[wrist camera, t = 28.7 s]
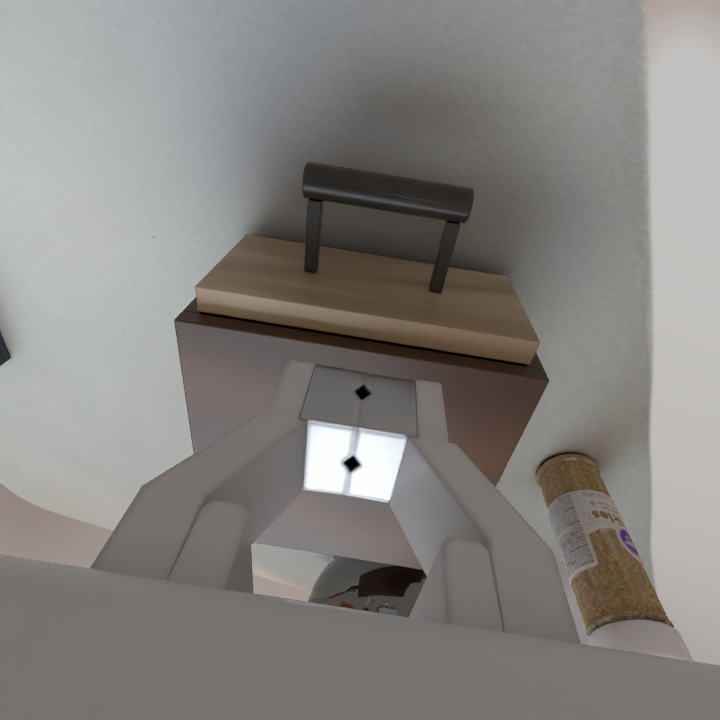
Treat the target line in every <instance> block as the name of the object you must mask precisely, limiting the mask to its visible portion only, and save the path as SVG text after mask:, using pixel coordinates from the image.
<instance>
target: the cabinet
mask: <svg viewBox="0 0 720 720" xmlns="http://www.w3.org/2000/svg"><path fill="white" fill-rule="evenodd" d="M174 322H175V328H176V335H177V342H178V349H179V356H180V363H181V369H182V376H183V383H184V390H185V397H186V403H187V410H188V417H189V424H190V431H191V438H192V444H193V451H194V454H195V453H196V452H198V451H200V450H201V449H203V448H205V447H206V446H208V445H209V444H211V443H213V442H214V441H216V440H218V439H219V438H221V437H222V436H224V435H226V434H227V433H229V432H230V431H232V430H234V429H235V428H237V427H239V426H240V425H242V424H243V423H245V422H247V421H248V420H250V419H251V418H253V417H255V416H256V415H258V414H267V415H268V412H269V410H270V407H271V404H272V402H273V399H274V397H275V394H276V392H277V389H278V387H279V384H280V382H281V379H282V377H283V374H284V372H285V369H286V367H287V364H288V363H289V362H290V361H291V360H296V361H302V362H308V363H314V364H321V365H326V366H332V367H338V368H343V369H349V370H354V371H360V372H365V373H370V374H376V375H383V376H390V377H396V378H403V379H410V380H415V379H416V380H423V381H431V382H439V383H440V384H441V386H442V393H443V401H444V409H445V417H446V425H447V433H448V442H449V443H454V444H457V445H458V446H459V447H460V448H461V450H462V451H463V452H464V453H465V454H466V455H467V456H468V457H469V458H470V460H471V461H472V462H473V463H474V464H475V465H476V466H477V467H478V468H479V470H480V471H481V472H482V473H483V474H484V475H485V476H486V477H487V478H488V480H489V481H490V482H491V483H492V484H493V485H494V486H495V487H496V485H497V483H498V481H499V479H500V477H501V475H502V473H503V471H504V469H505V467H506V465H507V463H508V461H509V459H510V457H511V455H512V453H513V451H514V449H515V447H516V445H517V443H518V441H519V440H520V438H521V436H522V434H523V432H524V430H525V428H526V426H527V424H528V422H529V420H530V418H531V416H532V414H533V412H534V410H535V408H536V406H537V404H538V402H539V400H540V398H541V396H542V394H543V392H544V390H545V388H546V386H547V384H548V382H549V379H548V377H547V375H546V372H545V370H544V368H543V366H542V364H541V362H540V360H539V358H538V356H537V353H536V352H535V355H534V357H533V359H532V361H531V363H530V365H527V364H521V363H515V362H509V361H503V360H497V359H495V362H493V361H487V360H481V359H475V358H469V357H463V356H456V355H450V354H444V353H438V352H432V351H425V350H419V349H413V348H407V347H401V346H395V345H388V344H382V343H376V342H370V341H364V340H357V339H351V338H345V337H339V336H333V335H327V334H320V333H314V332H308V331H302V330H296V329H290V328H283V327H277V326H271V325H265V324H259V323H252V322H246V321H240V320H234V319H232V317H231V316H225V315H219V314H212V313H206V312H200V311H198V309H197V299H196V298H195V299H194V300H193V301H192V302H191V303H190V304H189V305H188V306H187V307H186V308H185V309H184V310H183V312H181V313H180V314H179V315H178V317H177V318H176V319H175V320H174ZM254 543H260V544H266V545H272V546H278V547H284V548H291V549H297V550H303V551H309V552H316V553H322V554H328V555H334V556H340V557H347V558H353V559H359V560H365V561H372V562H378V563H384V564H390V565H396V566H403V567H409V568H415V569H421V570H423V568H422V566H421V564H420V562H419V561H418V559H417V557H416V555H415V553H414V551H413V549H412V547H411V545H410V543H409V541H408V540H407V538H406V536H405V534H404V532H403V530H402V528H401V526H400V524H399V522H398V520H397V518H396V517H395V515H394V513H393V511H392V509H391V507H390V503H386V502H380V501H375V500H369V499H364V498H358V497H353V496H347V495H340V494H332V493H325V492H317V491H309V490H302V493H301V494H300V495H299V496H298V497H297V498H296V499H295V500H294V501H293V502H292V503H291V504H290V505H289V506H288V508H287V509H286V510H285V511H284V512H283V513H282V514H281V515H280V516H279V517H278V518H277V519H276V520H275V521H274V522H273V523H272V524H271V525H270V526H269V527H268V528H267V529H266V530H265V531H264V532H263V533H262V534H261V535H260V536H259V537H258V538H257V539H256V541H255V542H254Z"/></svg>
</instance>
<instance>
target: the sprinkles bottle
mask: <svg viewBox="0 0 720 720" xmlns="http://www.w3.org/2000/svg"><path fill="white" fill-rule="evenodd" d="M536 480H537V483H538V485H539V487H540V488H541V490H542V494H543V497H544V500H545V502H546V506H547V509H548V515H549V519H550V522H551V525H552V528H553V531H554V535H555V538H556V541H557V544H558V547H559V550H560V553H561V556H562V559H563V562H564V566H565V569H566V572H567V575H568V578H569V581H570V584H571V587H572V588H573V590H574V593H575V596H576V599H577V602H578V605H579V609H580V612H581V614H582V617H583V621H584V623H585V626H586V629H587V633H586V634H587V635H588V636H589V638H588V645H590V646H597V647H603V648H610V649H616V650H623V651H629V652H636V653H642V654H649V655H655V656H662V657H668V658H675V659H681V660H688V661H693V660H692V658H691V655H690V653H689V651H688V649H687V647H686V645H685V643H684V641H683V639H682V637H681V635H680V633H679V632H678V631H677V630H676V629H675V628H674V626H673V624H672V623H671V622H670V621H669V620H668V617H667V616H666V613H665V611H664V609H663V607H662V605H661V603H660V601H659V599H658V597H657V594H656V592H655V590H654V588H653V586H652V584H651V582H650V580H649V578H648V576H647V574H646V572H645V570H644V568H643V563H642V561H641V559H640V557H639V554H638V552H637V550H636V548H635V546H634V544H633V542H632V540H631V538H630V536H629V533H628V531H627V529H626V527H625V525H624V523H623V521H622V519H621V516H620V514H619V512H618V510H617V508H616V506H615V504H614V502H613V500H612V499H611V497H610V495H609V493H608V491H607V489H606V487H605V485H604V482H603V480H602V478H601V476H600V471H599V468H598V466H597V464H596V463H595V462H594V461H593V460H592V459H591V458H588V457H586V456H583V455H579V454H564V455H559V456H556V457H553V458H551V459H550V460H548V461H546V462H545V463H544V464H543V465H542V466H541V467H540V468H539V469H538V471H537V474H536Z"/></svg>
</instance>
